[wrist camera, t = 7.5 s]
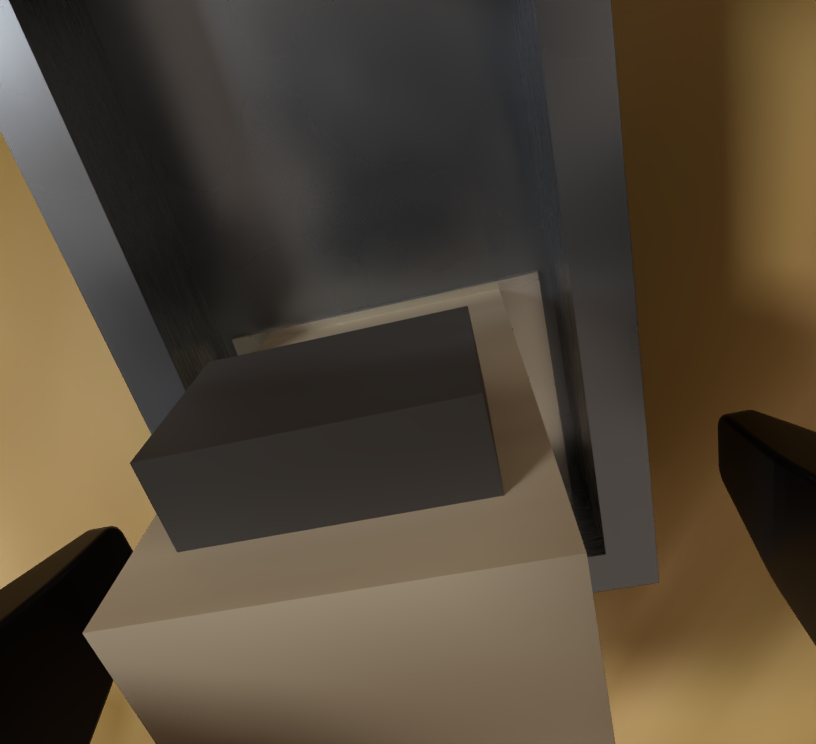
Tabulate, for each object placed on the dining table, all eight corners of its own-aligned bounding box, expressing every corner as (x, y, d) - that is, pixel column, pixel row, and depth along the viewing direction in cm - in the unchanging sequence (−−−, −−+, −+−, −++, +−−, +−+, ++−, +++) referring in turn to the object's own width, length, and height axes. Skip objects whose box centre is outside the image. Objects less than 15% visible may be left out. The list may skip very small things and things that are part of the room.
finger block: (535, 486, 11) (632, 855, 6) (333, 521, 12) (253, 891, 6) (487, 227, 9) (569, 437, 4) (245, 284, 10) (19, 538, 4)
